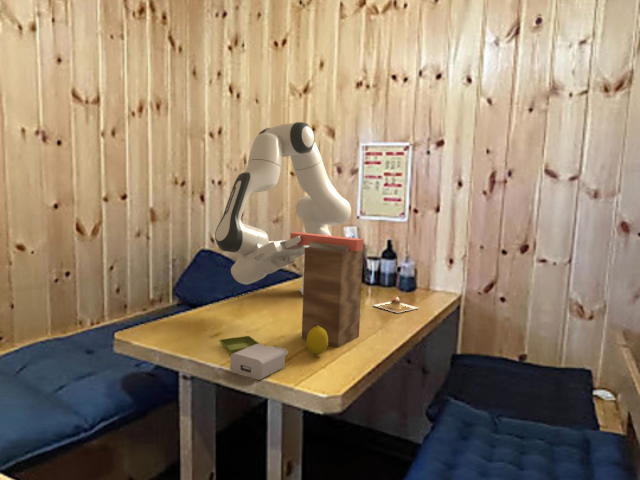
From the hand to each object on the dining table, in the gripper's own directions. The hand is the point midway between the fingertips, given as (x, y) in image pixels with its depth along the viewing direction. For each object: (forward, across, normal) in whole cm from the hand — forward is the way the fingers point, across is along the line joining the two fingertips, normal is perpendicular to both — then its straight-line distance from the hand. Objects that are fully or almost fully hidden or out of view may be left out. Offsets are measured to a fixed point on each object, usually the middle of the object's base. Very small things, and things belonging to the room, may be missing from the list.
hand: (306, 237), depth 145 cm
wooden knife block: (-6, 0, +29) cm, 30 cm away
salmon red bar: (+5, 0, +5) cm, 7 cm away
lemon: (-1, -15, +32) cm, 35 cm away
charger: (-7, -29, +29) cm, 41 cm away
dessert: (-6, +44, +30) cm, 54 cm away
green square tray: (-18, -23, +23) cm, 37 cm away
